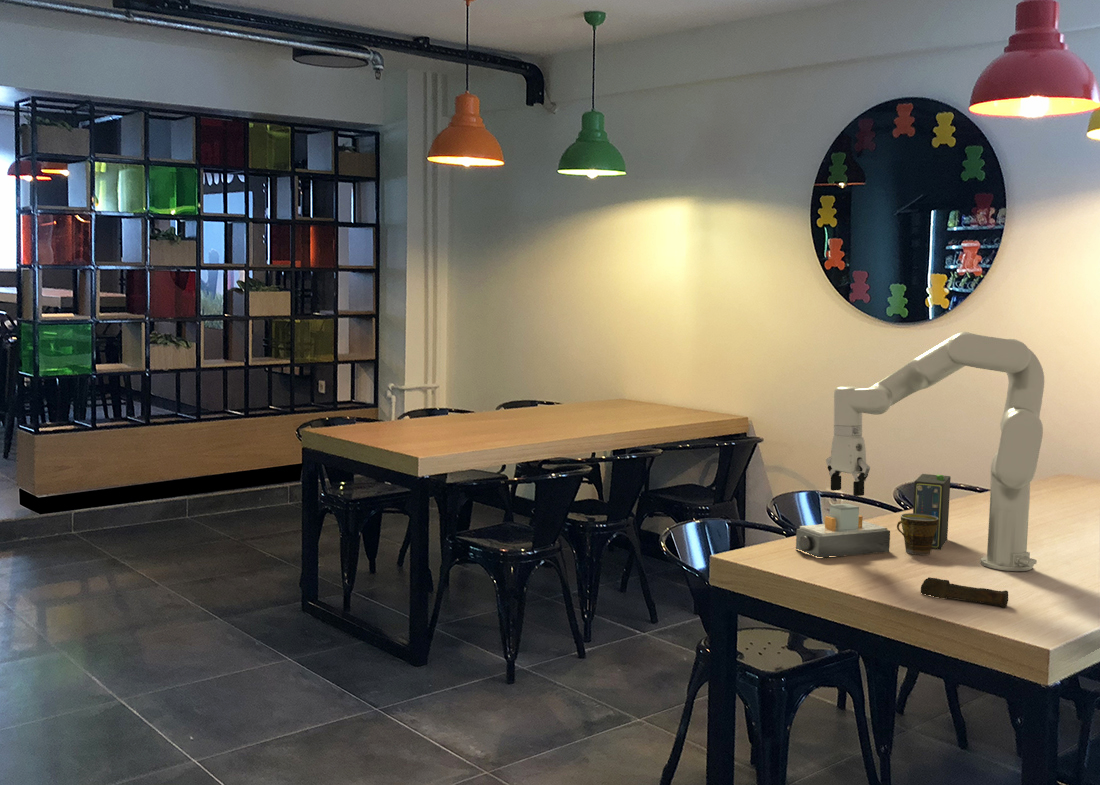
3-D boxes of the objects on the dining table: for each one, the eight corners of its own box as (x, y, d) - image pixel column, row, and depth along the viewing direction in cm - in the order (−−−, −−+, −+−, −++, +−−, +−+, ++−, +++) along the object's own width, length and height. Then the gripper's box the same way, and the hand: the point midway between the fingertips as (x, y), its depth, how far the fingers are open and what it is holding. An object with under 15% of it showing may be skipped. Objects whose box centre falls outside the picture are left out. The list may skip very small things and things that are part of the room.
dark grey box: (910, 547, 292) (913, 477, 290) (919, 535, 308) (922, 469, 306) (940, 551, 288) (943, 480, 286) (948, 538, 304) (951, 471, 302)
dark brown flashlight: (1009, 606, 236) (1010, 586, 236) (1006, 610, 233) (1007, 590, 232) (923, 593, 246) (924, 574, 246) (919, 596, 243) (920, 577, 242)
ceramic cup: (917, 546, 293) (919, 512, 292) (945, 554, 284) (946, 519, 283) (883, 550, 287) (884, 515, 286) (909, 558, 278) (911, 522, 277)
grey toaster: (889, 551, 286) (890, 517, 285) (814, 559, 276) (815, 523, 276) (865, 543, 295) (866, 510, 294) (792, 550, 286) (793, 515, 285)
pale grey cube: (858, 528, 284) (859, 506, 284) (840, 529, 282) (841, 508, 282) (846, 524, 289) (847, 503, 288) (828, 525, 287) (829, 504, 286)
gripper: (880, 433, 277) (879, 496, 278) (838, 427, 293) (838, 487, 294) (857, 435, 274) (856, 498, 275) (817, 429, 290) (816, 489, 291)
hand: (847, 492), depth 284 cm, fingers open, 9 cm apart
